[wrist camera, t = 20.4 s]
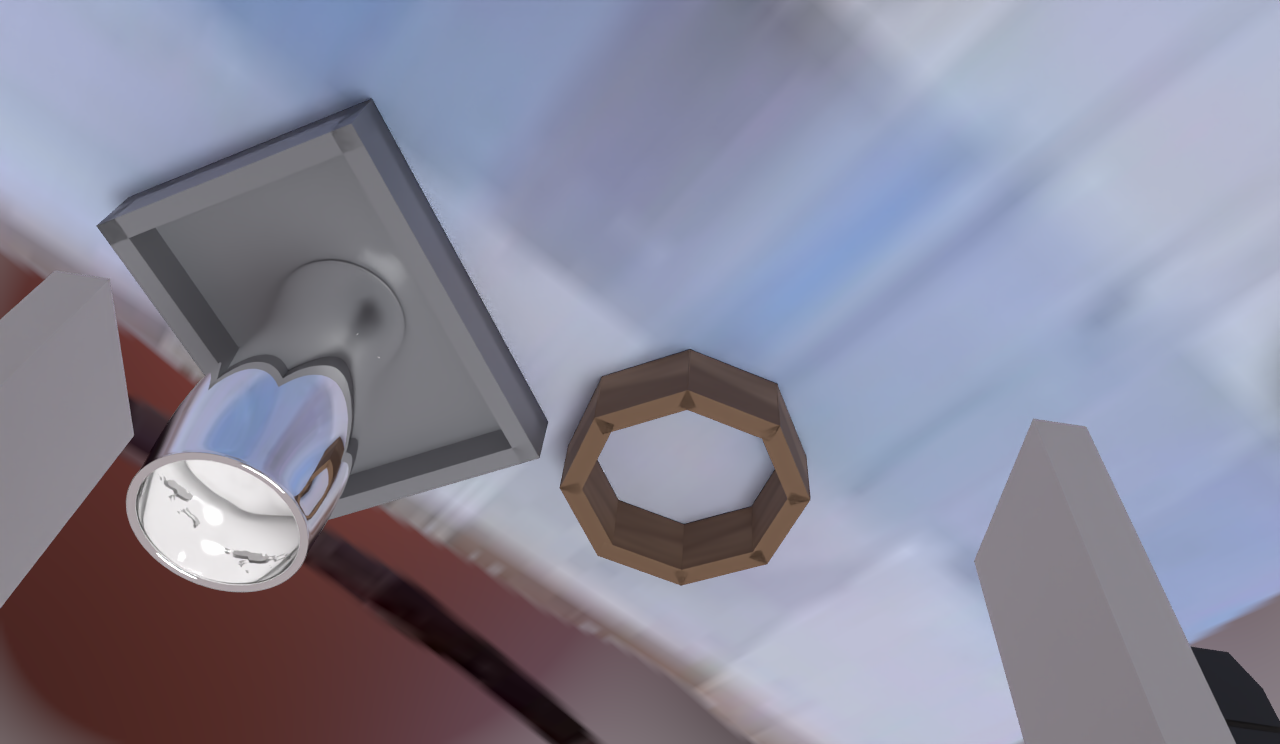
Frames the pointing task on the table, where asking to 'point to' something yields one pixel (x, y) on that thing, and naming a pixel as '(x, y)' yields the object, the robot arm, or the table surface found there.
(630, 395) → the ring holder
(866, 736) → the table surface
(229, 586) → the beer glass
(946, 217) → the table surface
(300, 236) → the tray
